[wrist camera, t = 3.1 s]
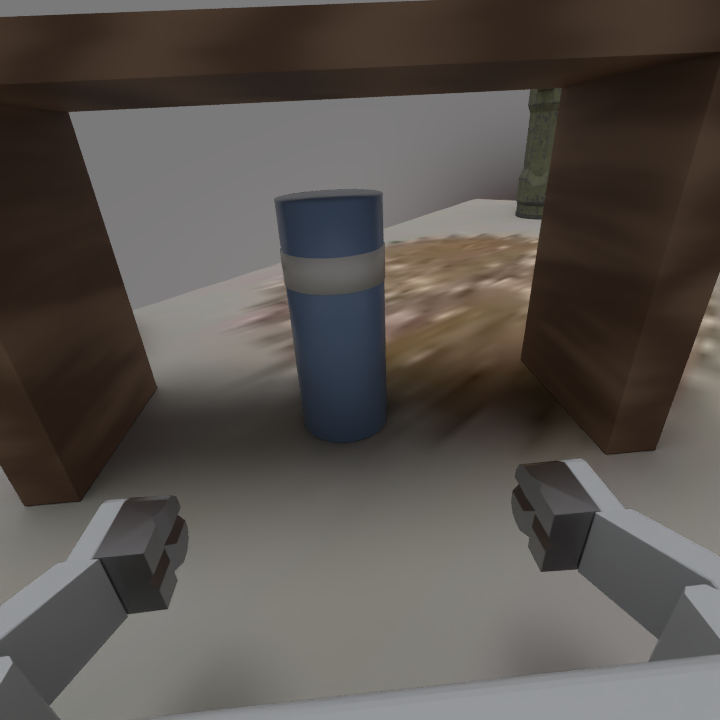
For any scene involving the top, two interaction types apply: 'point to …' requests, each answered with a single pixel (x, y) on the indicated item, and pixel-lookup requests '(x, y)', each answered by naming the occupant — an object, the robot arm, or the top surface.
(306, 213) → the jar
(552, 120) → the thermos
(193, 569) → the top surface
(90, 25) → the riser
